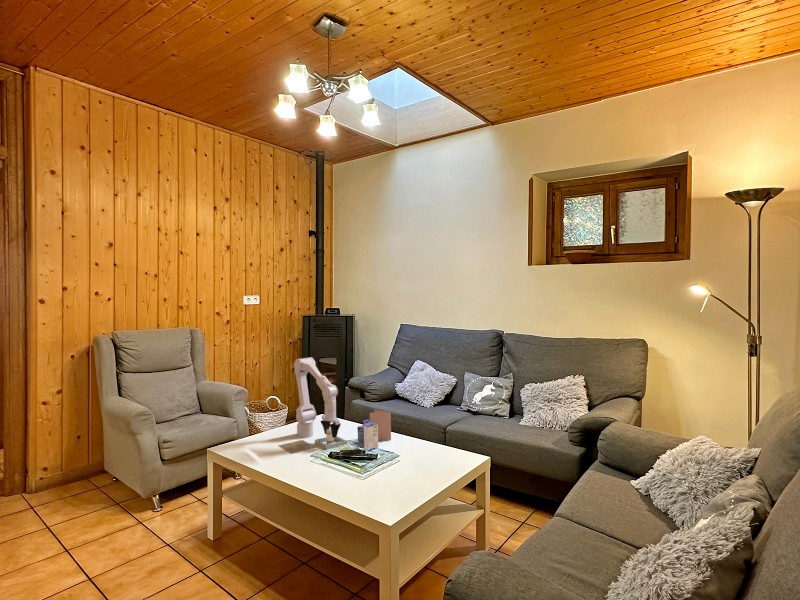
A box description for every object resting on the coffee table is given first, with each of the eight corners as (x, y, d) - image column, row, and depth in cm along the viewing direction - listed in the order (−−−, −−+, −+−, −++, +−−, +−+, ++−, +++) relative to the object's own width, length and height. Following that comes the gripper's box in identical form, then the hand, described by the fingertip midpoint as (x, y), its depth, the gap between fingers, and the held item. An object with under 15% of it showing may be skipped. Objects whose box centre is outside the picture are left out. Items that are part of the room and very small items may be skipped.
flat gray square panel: (277, 448, 234) (277, 440, 234) (302, 442, 242) (302, 435, 242) (291, 456, 221) (291, 448, 221) (317, 450, 230) (316, 442, 230)
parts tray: (314, 446, 236) (314, 439, 236) (334, 441, 243) (334, 435, 243) (326, 452, 227) (326, 445, 227) (346, 447, 234) (346, 440, 234)
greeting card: (391, 439, 246) (391, 412, 245) (383, 443, 240) (383, 415, 239) (375, 436, 252) (375, 409, 252) (366, 439, 246) (366, 412, 246)
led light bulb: (325, 444, 235) (324, 429, 235) (332, 443, 238) (331, 428, 238) (328, 446, 232) (328, 431, 232) (335, 445, 234) (335, 429, 234)
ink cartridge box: (371, 445, 237) (371, 417, 237) (378, 447, 233) (378, 419, 233) (357, 450, 230) (356, 421, 230) (364, 452, 226) (364, 423, 226)
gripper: (316, 408, 238) (316, 433, 238) (330, 413, 227) (331, 440, 227) (328, 405, 242) (328, 431, 242) (342, 411, 231) (343, 437, 231)
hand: (330, 435), depth 235 cm, fingers open, 7 cm apart
